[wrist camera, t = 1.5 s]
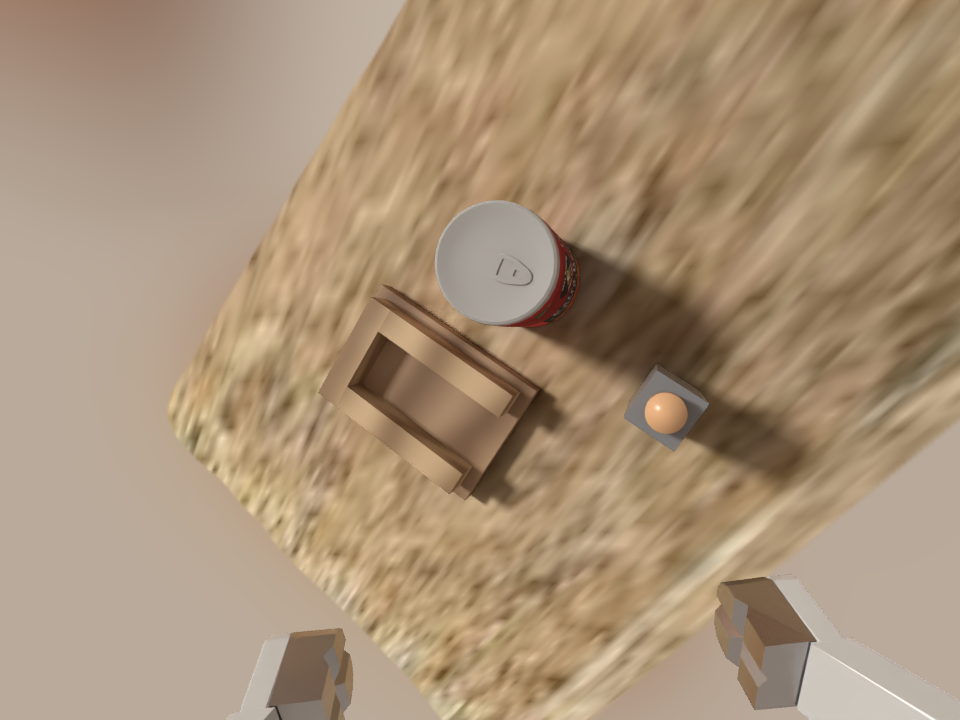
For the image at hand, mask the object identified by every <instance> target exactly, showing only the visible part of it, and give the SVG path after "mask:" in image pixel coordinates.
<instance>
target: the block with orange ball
mask: <svg viewBox="0 0 960 720" xmlns="http://www.w3.org/2000/svg"><path fill="white" fill-rule="evenodd" d="M708 405H709V402H708V401H707V400H706V399H705V397H704V396H703V395H702V394H701V392H700V391H699V390H698V389H696V388H695V387H693V386H691V385H690V384H688V383H687V382H685V381H684V380H682V379H680V378H679V377H677V376H676V375H674V374H672V373H671V372H669V371H668V370H666V369H665V368H663V367H661V366H660V365H658V364H657V363H656V364H655V365H654V367H653V368H652V370H651V371H650V373H649V374H648V375H647V377H646V378H645V380H644V381H643V382H642V384H641V385H640V387H639V388H638V390H637V391H636V392H635V394H634V395H633V397H632V398H631V400H630V401H629V403H628V406H627V409H626V412H625V415H624V418H625V419H626V420H628V421H629V422H631V423H632V424H634V425H635V426H637V427H638V428H640V429H641V430H643V431H644V432H646V433H647V434H649V435H650V436H652V437H653V438H655V439H656V440H657V441H659V442H660V443H662V444H663V445H665V446H666V447H668V448H669V449H671V450H672V451H675V450H676V448H677V447H678V446H679V444H680V443H681V442H682V440H683V439H684V438H685V436H686V435H687V434H688V432H689V431H690V430H691V428H692V427H693V425H694V424H695V423H696V421H697V420H698V419H699V417H700V416H701V415H702V413H703V412H704V411H705V409H706V408H707V407H708Z"/></svg>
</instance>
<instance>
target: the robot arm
mask: <svg viewBox="0 0 960 720" xmlns="http://www.w3.org/2000/svg"><path fill="white" fill-rule="evenodd" d="M717 597H718V599H719V601H720V602H721V605H720V606H719V607H718V608H717V609H716V611H715V619H714V624H715V629H716V635H717V638H718V641H719V643H720V646H721V648H722V650H723V652H724V654H725V656H726V658H727V659H729V660H730V661H731V662H733V663H734V664H735V665H737V666H738V667H739V671H738V681H739V682H740V684H741V686H742V688H743V690H744V692H745V694H746V695H747V697H748V699H749V700H750V703H751V705H752V706H753V708H754V710H761V709H772V708H783V707H794V706H797V709H798V710H799V711H800V712H801V713H803V714H804V715H805V716H806V717H807V718H809V719H810V720H960V700H958V699H956V698H955V697H953V696H951V695H950V694H947V693H946V692H944V691H943V690H941V689H939V688H937V687H935V686H934V685H932V684H931V683H929V682H927V681H925V680H924V679H922V678H920V677H918V676H916V675H915V674H913V673H912V672H910V671H908V670H906V669H905V668H903V667H901V666H899V665H898V664H896V663H894V662H893V661H891V660H889V659H887V658H886V657H884V656H882V655H880V654H879V653H877V652H875V651H874V650H872V649H870V648H868V647H867V646H865V645H863V644H861V643H860V642H858V641H856V640H855V639H853V638H844V637H843V636H842V635H841V633H840V632H839V631H838V630H837V628H836V627H835V626H834V625H833V623H832V622H831V621H830V620H829V618H828V617H827V616H826V615H825V613H824V612H823V611H822V609H821V608H820V607H819V606H818V604H817V603H816V602H815V601H814V599H813V598H812V597H811V596H810V595H809V593H808V592H807V591H806V589H805V588H804V587H803V586H802V585H801V583H800V582H799V581H798V579H797V578H796V577H794V576H793V575H791V574H786V575H778V576H770V577H759V578H751V579H744V580H736V581H729V582H721V583H720V585H719V586H718V590H717ZM344 646H345V636H344V633H343V630H342V629H339V628H337V629H326V630H315V631H304V632H293V633H285V634H275V635H269V637H268V638H267V640H266V641H265V642H264V645H263V647H262V650H261V653H260V656H259V659H258V661H257V664H256V667H255V670H254V672H253V675H252V678H251V681H250V684H249V686H248V689H247V692H246V695H245V698H244V700H243V703H242V706H241V709H240V711H238V712H232V713H231V714H230V715H229V716H228V717H227V718H226V719H225V720H345V718H344V714H343V712H344V711H345V710H346V709H347V707H348V706H349V705H350V703H351V697H352V690H353V668H352V661H351V657H350V654H348V653H347V652H346V651H344Z"/></svg>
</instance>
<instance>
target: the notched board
mask: <svg viewBox="0 0 960 720" xmlns="http://www.w3.org/2000/svg"><path fill="white" fill-rule="evenodd" d="M539 391H540V389H539V388H538V387H536V386H535V385H533V384H532V383H530V382H529V381H527V380H526V379H525V378H523V377H522V376H520V375H519V374H517V373H516V372H514V371H513V370H511V369H510V368H508V367H507V366H506V365H504V364H503V363H501V362H500V361H498V360H497V359H495V358H494V357H492V356H491V355H490V354H488V353H487V352H485V351H484V350H482V349H481V348H479V347H478V346H476V345H475V344H473V343H472V342H471V341H469V340H468V339H466V338H465V337H463V336H462V335H460V334H459V333H457V332H456V331H454V330H453V329H452V328H450V327H449V326H447V325H446V324H444V323H443V322H441V321H440V320H438V319H437V318H435V317H434V316H433V315H431V314H430V313H428V312H427V311H425V310H424V309H422V308H421V307H419V306H418V305H417V304H415V303H414V302H412V301H411V300H409V299H408V298H406V297H405V296H403V295H402V294H400V293H399V292H398V291H396V290H395V289H393V288H392V287H390V286H387V285H381V286H380V288H379V290H378V291H377V293H376V295H375V297H371V298H370V300H369V302H368V303H367V305H366V307H365V309H364V311H363V312H362V314H361V316H360V318H359V320H358V322H357V323H356V325H355V327H354V329H353V331H352V332H351V334H350V336H349V338H348V340H347V341H346V343H345V345H344V347H343V349H342V351H341V352H340V354H339V356H338V358H337V360H336V361H335V363H334V365H333V367H332V369H331V370H330V372H329V374H328V376H327V378H326V379H325V381H324V383H323V385H322V387H321V389H320V390H319V392H318V393H319V394H321V395H322V396H323V397H325V398H326V399H327V400H328V401H330V402H331V403H332V404H334V405H335V406H336V407H338V408H339V409H340V410H341V411H343V412H344V413H345V414H347V415H348V416H349V417H350V418H352V419H353V420H354V421H356V422H357V423H358V424H359V425H361V426H362V427H363V428H365V429H366V430H367V431H368V432H370V433H371V434H372V435H374V436H375V437H376V438H377V439H379V440H380V441H381V442H383V443H384V444H385V445H387V446H388V447H389V448H390V449H392V450H393V451H394V452H396V453H397V454H398V455H399V456H401V457H402V458H403V459H405V460H406V461H407V462H408V463H410V464H411V465H412V466H414V467H415V468H416V469H417V470H419V471H420V472H421V473H423V474H424V475H425V476H426V477H428V478H429V479H430V480H432V481H433V482H434V483H436V484H437V485H438V486H439V487H441V488H442V489H443V490H445V491H446V492H447V493H448V494H450V493H451V492H455V493H456V494H457V495H459V496H460V497H461V498H462V499H464V500H466V499H467V498H468V497H469V496H470V495H471V494H472V492H473V491H474V489H475V488H476V486H477V485H478V483H479V482H480V480H481V479H482V477H483V476H484V474H485V473H486V471H487V470H488V468H489V467H490V465H491V464H492V462H493V461H494V459H495V457H496V456H497V454H498V453H499V451H500V450H501V448H502V447H503V445H504V444H505V442H506V441H507V439H508V438H509V436H510V435H511V433H512V432H513V430H514V429H515V427H516V426H517V424H518V422H519V421H520V419H521V418H522V416H523V415H524V413H525V412H526V410H527V409H528V407H529V406H530V404H531V403H532V401H533V400H534V398H535V397H536V395H537V394H538V392H539Z"/></svg>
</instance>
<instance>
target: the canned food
mask: <svg viewBox="0 0 960 720" xmlns="http://www.w3.org/2000/svg"><path fill="white" fill-rule="evenodd" d="M435 271H436V277H437V280H438V284H439V287H440V289H441V291H442V293H443V295H444V296H445V298H446V299H447V300H448V302H449V303H450V304H451V306H452V307H454V308H455V309H456V310H457V311H458V312H459V313H461V314H462V315H464V316H466V317H467V318H469V319H471V320H473V321H476V322H479V323H482V324H485V325H493V326H505V327H536V326H542V325H546V324H549V323H551V322H553V321H555V320H557V319H558V318H560V317H561V316H562V315H563V314H565V313H566V311H567V310H568V309H569V308H570V307H571V305H572V304H573V302H574V300H575V298H576V296H577V293H578V290H579V283H580V273H579V267H578V263H577V260H576V258H575V256H574V254H573V252H572V251H571V249H570V248H569V247H568V246H567V245H566V244H565V242H564V241H563V240H562V239H561V238H560V237H559V236H558V235H557V234H556V233H555V232H554V231H553V230H552V229H551V227H550V226H549V225H548V224H547V223H546V222H545V221H544V220H542V219H541V218H540V217H539V216H538V215H536V214H535V213H534V212H533V211H531V210H529V209H527V208H525V207H523V206H521V205H519V204H516V203H512V202H508V201H499V200H492V201H485V202H480V203H478V204H475V205H472V206H470V207H468V208H466V209H465V210H463V211H461V212H460V213H459V214H458V215H457V216H455V217H454V218H453V219H452V220H451V221H450V223H449V224H448V225H447V227H446V228H445V229H444V231H443V233H442V235H441V237H440V239H439V242H438V246H437V249H436V255H435Z"/></svg>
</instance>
